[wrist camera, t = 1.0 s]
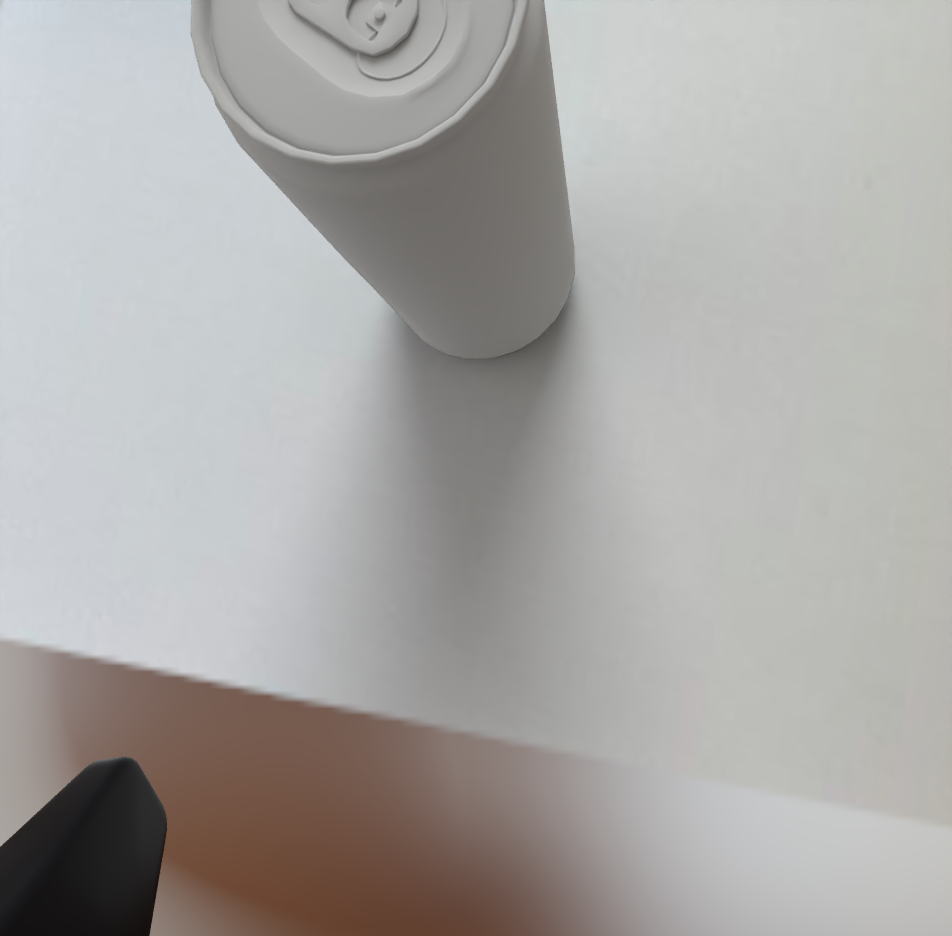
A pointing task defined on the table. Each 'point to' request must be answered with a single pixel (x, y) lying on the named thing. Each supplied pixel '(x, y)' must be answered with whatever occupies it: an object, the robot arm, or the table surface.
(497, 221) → the beverage can
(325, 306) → the table surface
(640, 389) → the table surface
